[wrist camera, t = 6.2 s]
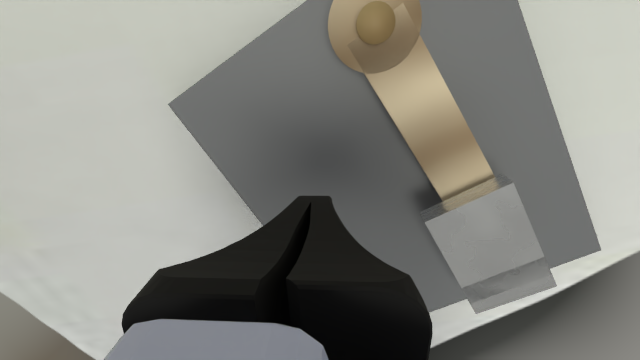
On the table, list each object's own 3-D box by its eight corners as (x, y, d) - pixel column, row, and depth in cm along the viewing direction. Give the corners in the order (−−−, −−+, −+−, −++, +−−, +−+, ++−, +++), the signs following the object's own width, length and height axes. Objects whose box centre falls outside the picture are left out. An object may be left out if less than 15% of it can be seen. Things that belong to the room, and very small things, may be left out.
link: (312, 15, 16) (307, 10, 14) (386, -46, 15) (394, -63, 13) (448, 230, 21) (460, 252, 19) (513, 198, 20) (535, 217, 17)
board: (352, 328, 28) (353, 339, 26) (177, 101, 20) (167, 104, 19) (588, 240, 22) (601, 250, 21) (465, -113, 15) (475, -126, 14)
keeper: (411, 194, 20) (424, 222, 17) (484, 159, 19) (513, 182, 16) (456, 275, 23) (476, 313, 20) (524, 249, 21) (556, 286, 18)
